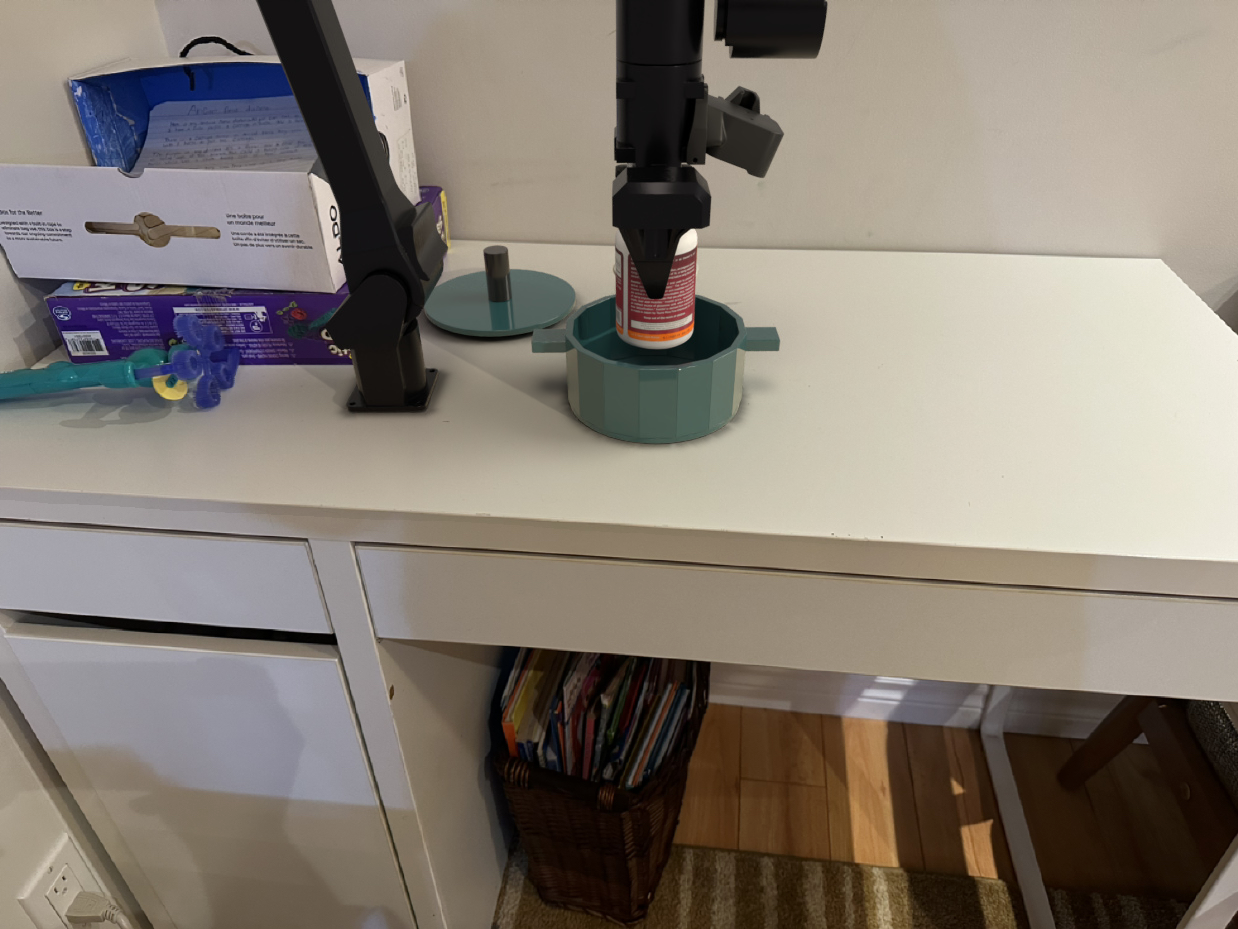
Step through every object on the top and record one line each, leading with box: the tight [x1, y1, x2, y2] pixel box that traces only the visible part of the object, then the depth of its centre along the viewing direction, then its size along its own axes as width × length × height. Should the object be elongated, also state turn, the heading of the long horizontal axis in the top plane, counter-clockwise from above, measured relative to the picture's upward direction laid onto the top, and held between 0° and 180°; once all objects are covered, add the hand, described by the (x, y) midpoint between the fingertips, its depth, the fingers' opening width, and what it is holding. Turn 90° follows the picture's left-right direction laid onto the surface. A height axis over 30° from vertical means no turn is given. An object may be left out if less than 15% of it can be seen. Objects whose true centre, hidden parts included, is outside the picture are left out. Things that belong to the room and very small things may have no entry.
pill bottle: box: [614, 228, 698, 349], centre depth 64 cm, size 6×6×11 cm
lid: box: [423, 244, 577, 337], centre depth 84 cm, size 15×15×6 cm
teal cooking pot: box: [530, 293, 781, 445], centre depth 69 cm, size 14×20×6 cm
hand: (654, 281), depth 65 cm, fingers closed on pill bottle, 6 cm apart
